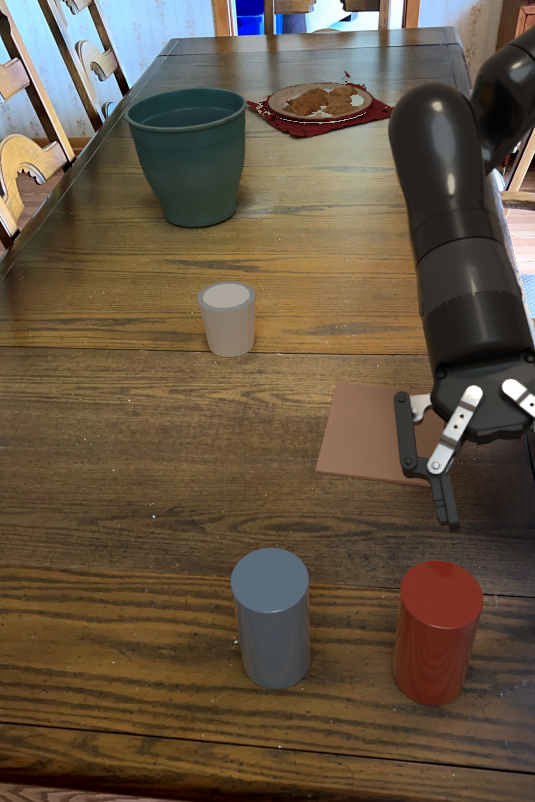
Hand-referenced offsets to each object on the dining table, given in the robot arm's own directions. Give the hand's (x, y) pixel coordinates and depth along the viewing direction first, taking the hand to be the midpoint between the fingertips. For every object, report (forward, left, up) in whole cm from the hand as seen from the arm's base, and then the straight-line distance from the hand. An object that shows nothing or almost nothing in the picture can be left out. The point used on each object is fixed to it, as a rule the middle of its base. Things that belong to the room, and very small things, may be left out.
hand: (519, 522), depth 48 cm
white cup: (+31, -34, -13) cm, 48 cm away
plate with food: (+34, -119, -13) cm, 125 cm away
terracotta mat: (+11, -21, -13) cm, 27 cm away
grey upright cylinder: (+16, +6, -13) cm, 21 cm away
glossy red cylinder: (+5, +5, -13) cm, 14 cm away
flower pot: (+46, -69, -13) cm, 84 cm away
